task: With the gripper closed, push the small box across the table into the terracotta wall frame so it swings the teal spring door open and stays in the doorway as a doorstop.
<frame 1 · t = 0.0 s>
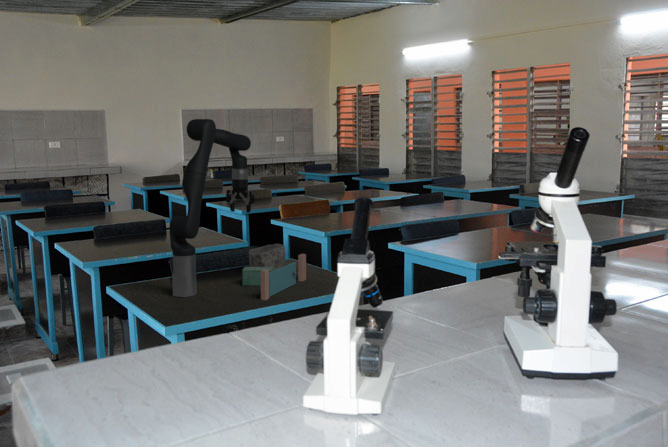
hand: (240, 212, 305), 29 cm above the table, tool pointing down, fingers open, 8 cm apart
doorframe: (268, 297, 264), on the table
petrified wood: (268, 274, 305), on the table
door: (283, 278, 274), point 6 cm above the table, hinge at 0.0°
box: (258, 284, 286), on the table
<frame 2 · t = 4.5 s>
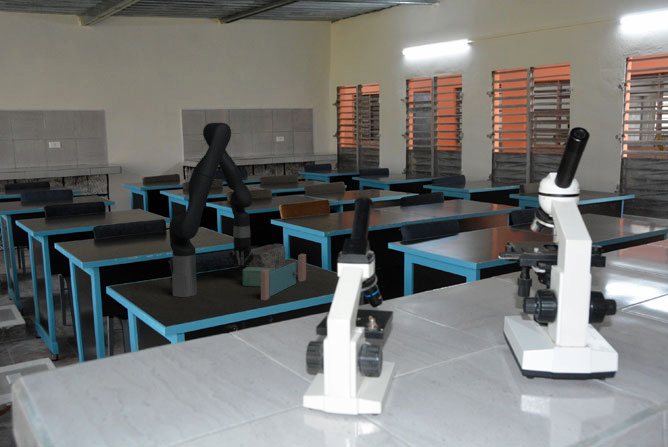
hand: (242, 273, 289), 4 cm above the table, tool pointing down, fingers closed
box: (259, 285, 285), on the table, touching gripper
everything else where it was.
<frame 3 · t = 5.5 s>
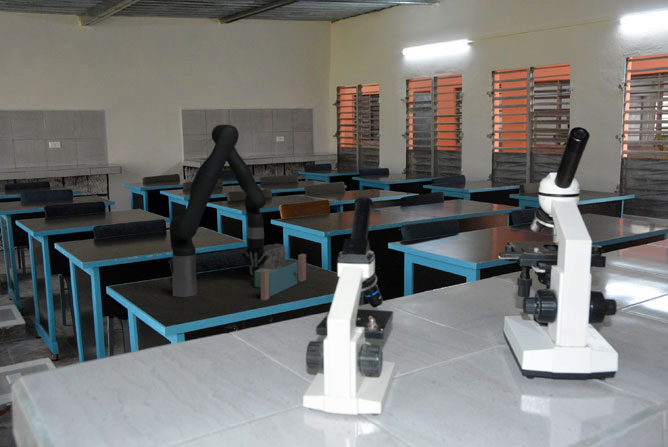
hand: (255, 274, 286), 4 cm above the table, tool pointing down, fingers closed
door: (284, 278, 274), point 6 cm above the table, hinge at 1.7°
box: (271, 287, 281), on the table, touching gripper
everything else where it was.
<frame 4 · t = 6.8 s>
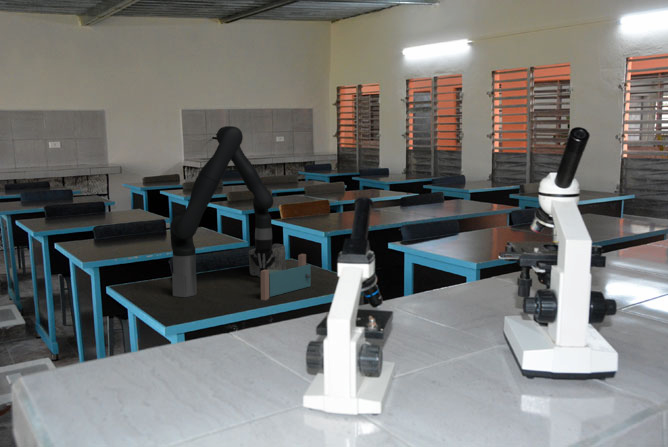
hand: (263, 275, 285), 4 cm above the table, tool pointing down, fingers closed
door: (290, 279, 271), point 6 cm above the table, hinge at 19.1°, touching box
box: (279, 288, 279), on the table, touching door, gripper
everything else where it was.
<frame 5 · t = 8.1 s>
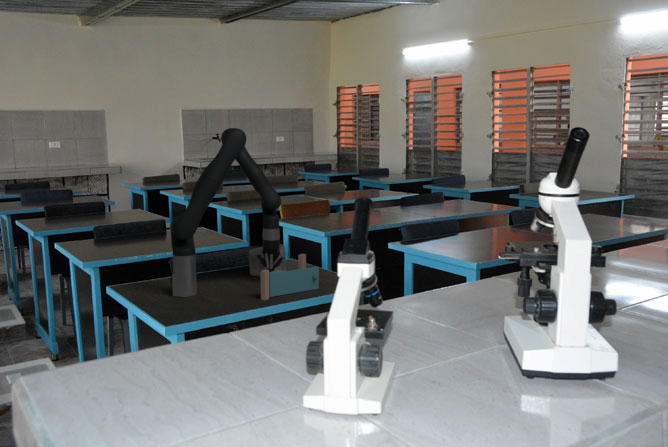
hand: (271, 276, 283), 4 cm above the table, tool pointing down, fingers closed
door: (294, 280, 269), point 6 cm above the table, hinge at 32.6°
box: (286, 289, 278), on the table, touching gripper
everything else where it was.
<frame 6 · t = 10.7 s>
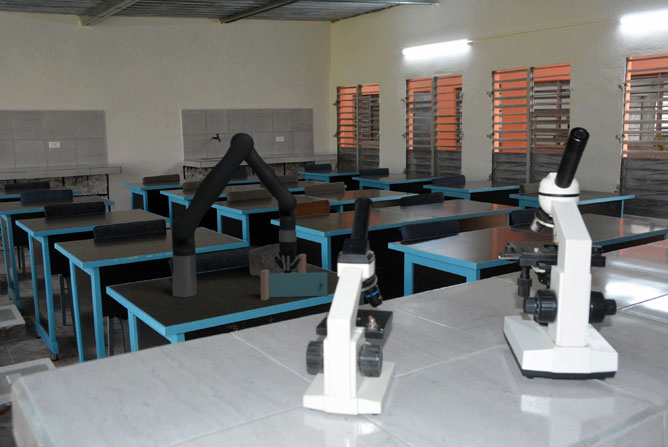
hand: (287, 278, 280), 4 cm above the table, tool pointing down, fingers closed
door: (297, 284, 264), point 6 cm above the table, hinge at 59.8°
box: (299, 292, 273), on the table, touching gripper
everything else where it was.
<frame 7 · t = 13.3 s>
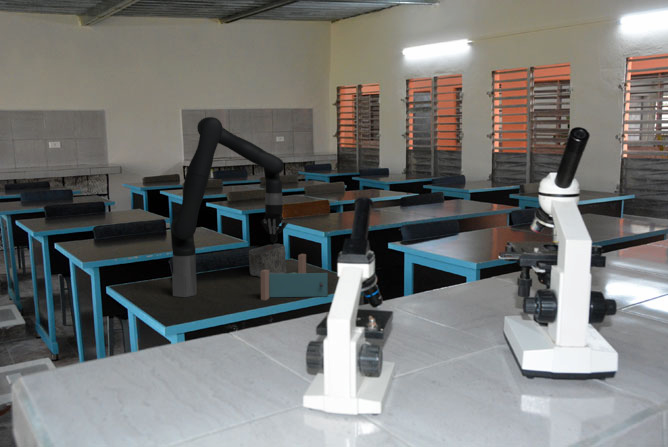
hand: (273, 242, 280), 20 cm above the table, tool pointing down, fingers closed
door: (297, 284, 263), point 6 cm above the table, hinge at 62.2°
box: (298, 293, 273), on the table
everything else where it was.
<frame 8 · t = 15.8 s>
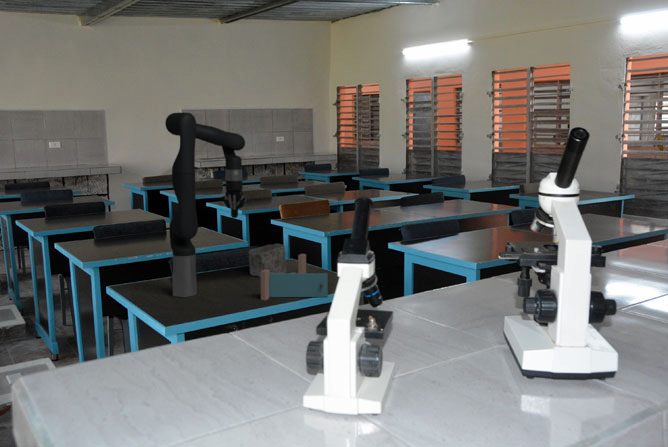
hand: (234, 217, 289), 29 cm above the table, tool pointing down, fingers closed
door: (297, 284, 263), point 6 cm above the table, hinge at 63.8°
everything else where it was.
at the end: door at +64° (first picture: +0°); box inside the target area (6.2 cm from its centre), on the table; box moved 23.1 cm from its start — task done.
